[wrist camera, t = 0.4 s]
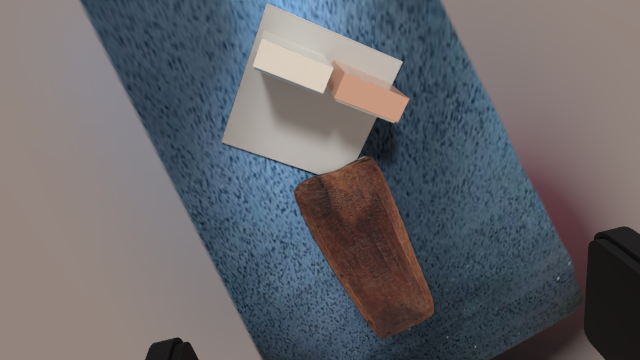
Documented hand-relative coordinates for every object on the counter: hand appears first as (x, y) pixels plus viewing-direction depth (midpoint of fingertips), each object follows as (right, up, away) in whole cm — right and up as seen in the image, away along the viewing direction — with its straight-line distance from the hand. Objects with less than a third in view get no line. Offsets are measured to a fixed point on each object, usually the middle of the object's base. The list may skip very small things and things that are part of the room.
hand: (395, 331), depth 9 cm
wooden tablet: (+4, -6, +40) cm, 41 cm away
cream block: (-5, +15, +29) cm, 33 cm away
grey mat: (-3, +11, +32) cm, 34 cm away
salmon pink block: (+2, +13, +31) cm, 34 cm away
